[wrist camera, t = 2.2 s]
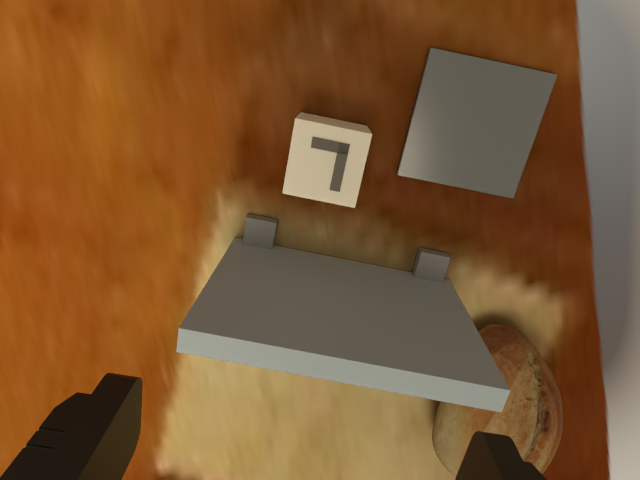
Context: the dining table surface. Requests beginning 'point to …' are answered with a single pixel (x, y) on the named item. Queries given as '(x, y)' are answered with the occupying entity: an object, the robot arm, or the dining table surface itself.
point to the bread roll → (507, 406)
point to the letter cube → (326, 159)
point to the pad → (474, 122)
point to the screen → (342, 321)
